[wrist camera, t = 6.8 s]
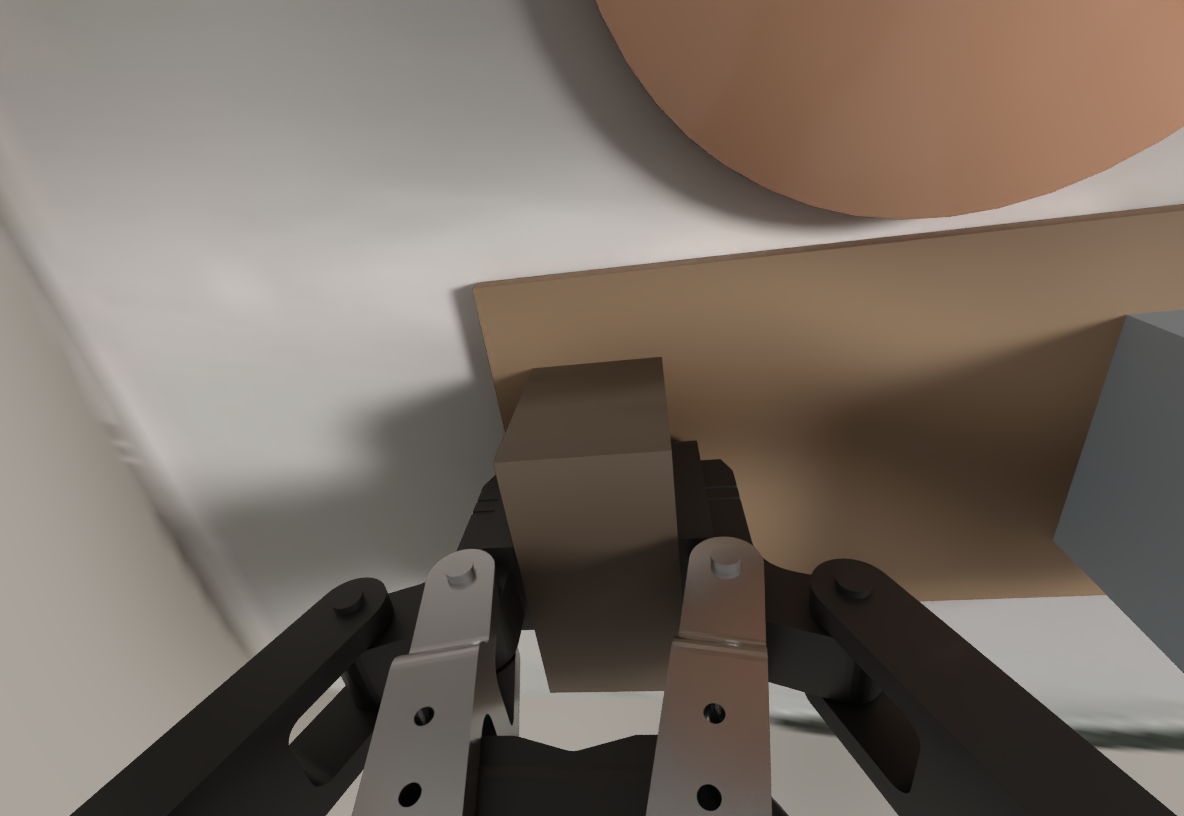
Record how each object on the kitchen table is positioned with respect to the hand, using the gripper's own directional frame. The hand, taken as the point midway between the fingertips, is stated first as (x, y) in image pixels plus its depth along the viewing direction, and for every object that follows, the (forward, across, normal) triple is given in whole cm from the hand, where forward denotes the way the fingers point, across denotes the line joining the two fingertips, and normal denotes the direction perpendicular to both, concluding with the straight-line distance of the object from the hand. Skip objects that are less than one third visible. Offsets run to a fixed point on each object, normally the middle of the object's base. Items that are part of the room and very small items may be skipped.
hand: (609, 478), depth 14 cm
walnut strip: (+1, -8, 0) cm, 9 cm away
